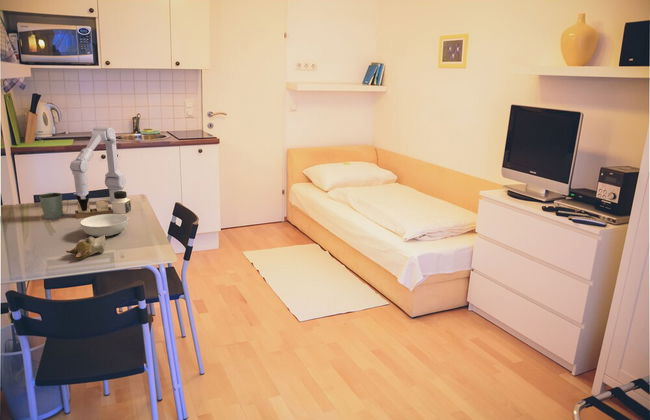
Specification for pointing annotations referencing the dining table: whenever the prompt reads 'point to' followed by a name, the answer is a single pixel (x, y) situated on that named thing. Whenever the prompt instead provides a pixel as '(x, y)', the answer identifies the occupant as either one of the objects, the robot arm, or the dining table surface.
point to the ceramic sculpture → (88, 246)
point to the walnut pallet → (92, 213)
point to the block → (102, 206)
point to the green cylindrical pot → (52, 205)
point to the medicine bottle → (121, 203)
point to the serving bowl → (104, 224)
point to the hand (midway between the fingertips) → (84, 209)
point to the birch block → (81, 209)
